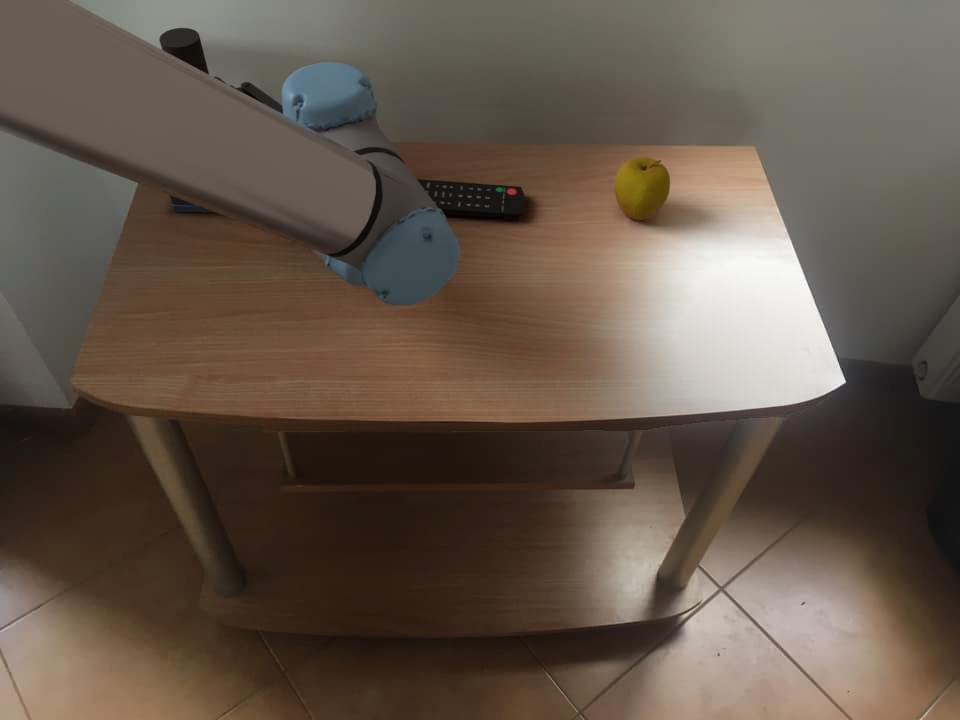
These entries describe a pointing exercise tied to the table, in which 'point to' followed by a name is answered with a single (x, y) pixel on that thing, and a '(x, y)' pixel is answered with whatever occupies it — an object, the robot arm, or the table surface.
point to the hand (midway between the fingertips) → (173, 81)
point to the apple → (641, 187)
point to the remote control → (476, 198)
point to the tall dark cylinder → (185, 47)
